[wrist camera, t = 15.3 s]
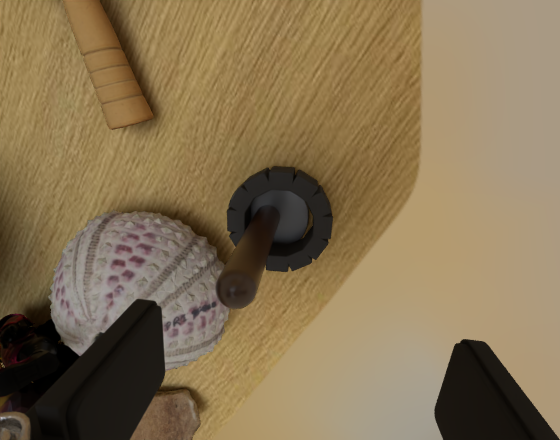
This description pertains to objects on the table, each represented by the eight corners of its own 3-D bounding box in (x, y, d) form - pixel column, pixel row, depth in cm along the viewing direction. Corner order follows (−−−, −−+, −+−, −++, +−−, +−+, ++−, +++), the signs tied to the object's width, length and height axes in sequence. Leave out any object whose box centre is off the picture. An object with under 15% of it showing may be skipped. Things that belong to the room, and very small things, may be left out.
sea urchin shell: (127, 166, 24) (39, 191, 16) (272, 267, 25) (254, 332, 18) (63, 286, 28) (-30, 351, 20) (191, 366, 29) (148, 454, 22)
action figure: (100, 532, 17) (22, 428, 30) (181, 434, 22) (83, 380, 35) (-74, 316, 14) (-78, 303, 27) (65, 250, 18) (4, 266, 31)
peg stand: (297, 164, 23) (283, 214, 11) (316, 239, 24) (320, 347, 13) (220, 184, 24) (137, 248, 12) (244, 255, 25) (189, 367, 14)
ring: (303, 148, 21) (302, 152, 19) (346, 235, 23) (349, 247, 21) (217, 193, 23) (207, 201, 21) (262, 271, 24) (258, 286, 22)
